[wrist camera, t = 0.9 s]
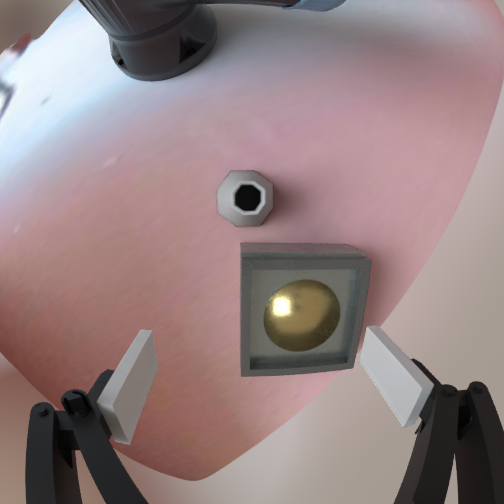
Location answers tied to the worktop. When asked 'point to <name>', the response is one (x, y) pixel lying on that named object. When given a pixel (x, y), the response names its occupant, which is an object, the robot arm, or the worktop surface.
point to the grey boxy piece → (300, 307)
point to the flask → (245, 198)
